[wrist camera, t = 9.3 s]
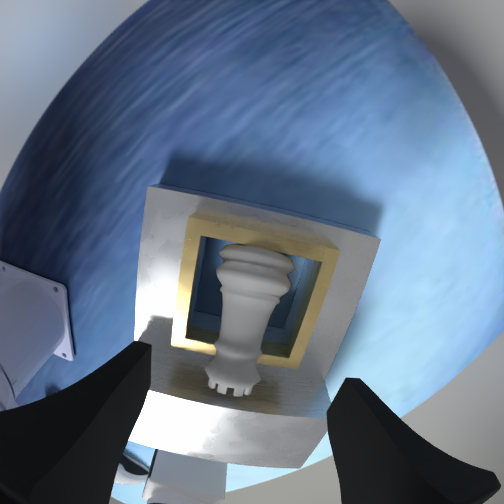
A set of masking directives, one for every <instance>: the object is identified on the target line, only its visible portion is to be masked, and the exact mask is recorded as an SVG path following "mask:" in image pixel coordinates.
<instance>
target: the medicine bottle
mask: <svg viewBox="0 0 504 504" xmlns="http://www.w3.org/2000/svg"><path fill="white" fill-rule="evenodd" d="M226 475H227V463H224V462H218V461H212V460H206V459H200V458H195V457H190V456H186V455H181V454H177V453H172V452H168V451H164V450H161V449H157V448H156V449H155V452H154V455H153V459H152V462H151V466H150V469H149V473H148V476H147V480H146V484H145V487H144V491H143V495H142V498H143V499H144V500H146V501H147V504H219V503H221V502H222V501H223V500H224V498H225V489H226Z"/></svg>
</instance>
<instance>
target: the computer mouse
mask: <svg viewBox="0 0 504 504" xmlns="http://www.w3.org/2000/svg"><path fill="white" fill-rule="evenodd" d="M47 397H48V396H47ZM148 473H149V468H147V467H146V466H145V465H143V464H142V463H140V462H138V461H137V460H135V459H133V458H131V457H129V456H127V455H125V454H122V457H121V459H120V462H119V466H118V469H117V473H116V476H115V480H114V482H116V483H120V484H126V485H132V484H139V483H143V482H146V480H147V476H148Z"/></svg>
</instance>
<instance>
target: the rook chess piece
mask: <svg viewBox="0 0 504 504" xmlns="http://www.w3.org/2000/svg"><path fill="white" fill-rule="evenodd" d="M219 255H220V256H221V257H222V259H223V260H224V263H222V264H221V265H220V266H219V267H217V277H218V279H219V280H220V282H221V284H222V287H221V288H220V291H221V292H222V297H223V309H222V322H221V330H220V335H219V339H218V340H217V341H216V342H214V346H215V348H216V356H215V358H214V359H213V360H212V361H210V362H209V363H208V364H207V365H206V366H205V371H206V373H207V374H208V376H209V382H208V386H209V387H210V388H215V387H216V383H217V384H218V389H217V392H219V393H222V394H226V392H227V387H229V388H234V392H233V395H234V396H241V397H242V396H243V392H244V394H245V395H249V394H251V391H252V386H254V385H255V384H256V383H257V382H259V381H260V380H261V379H260V376H259V374H258V372H257V369H256V362H257V359H258V358H259V357H260V356H261V355H263V354H262V351H261V349H260V348H261V343H262V339H263V335H264V332H265V330H266V327H267V324H268V322H269V319H270V316H271V314H272V312H273V310H274V308H275V306H276V304H278V303H280V299H279V298H280V297H281V296H283V295H284V294H285V293H287V292H288V291H289V289H290V287H291V285H292V284H291V282H290V280H289V278H288V277H287V274H289V273H291V272H293V271H294V270H296V269H295V266H294V264H293V262H292V260H291V258H290V257H288V256H286V255H284V254H281V253H278V252H275V251H272V250H268V249H263V248H259V247H254V246H247V245H238V244H230V245H226V246H225V247H224V248H223V249H222V250H221V251H220V252H219ZM244 389H245V391H244Z"/></svg>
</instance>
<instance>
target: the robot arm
mask: <svg viewBox="0 0 504 504" xmlns="http://www.w3.org/2000/svg"><path fill="white" fill-rule="evenodd" d="M56 287H57V289H58V290H57V289H56ZM52 354H55V355H58V356H60V357H62V358H65V359H67V360H69V361H73V359H74V358H75V356H74V350H73V344H72V337H71V330H70V321H69V312H68V301H67V290H66V287H65V286H64V285H63V284H60V283H58V282H55V281H52V280H49V279H46V278H44V277H41V276H38V275H36V274H33V273H30V272H28V271H25V270H23V269H20V268H18V267H15V266H13V265H10V264H8V263H5V262H3V261H0V504H109V500H110V496H111V492H112V488H113V484H114V480H115V476H116V473H117V469H118V466H119V462H120V459H121V457H122V454H123V451H124V449H125V447H126V445H127V442H128V440H129V438H130V436H131V434H132V431H133V429H134V427H135V425H136V423H137V420H138V418H139V416H140V414H141V412H142V409H143V407H144V404H145V401H146V398H147V395H148V392H149V388H150V385H151V355H152V344H148V343H144V342H141V341H137V340H135V341H134V342H132V343H131V344H130V345H128V346H127V347H126V348H125V349H123V350H122V351H121V352H120V353H118V354H117V355H116V356H114V357H113V358H112V359H110V360H109V361H108V362H106V363H105V364H103V365H102V366H101V367H99V368H98V369H97V370H95V371H94V372H92V373H90V374H89V375H87V376H86V377H84V378H83V379H81V380H79V381H78V382H76V383H74V384H73V385H71V386H69V387H67V388H65V389H63V390H61V391H59V392H57V393H55V394H53V395H51V396H48V397H46V398H43V399H41V400H38V401H35V402H33V403H30V404H27V405H24V406H20V407H18V405H17V404H16V402H15V398H16V397H17V396H18V395H19V393H20V392H21V391H22V390H23V388H24V387H25V386H26V385H27V383H28V382H29V381H30V380H31V379H32V377H33V376H34V375H35V374H36V373H37V371H38V370H39V369H40V368H41V367H42V365H43V364H44V363H45V362H46V361H47V360H48V358H49V357H50V356H51V355H52ZM326 415H327V427H328V435H329V440H330V444H331V448H332V452H333V456H334V461H335V465H336V469H337V473H338V477H339V483H340V490H341V502H342V504H483V503H484V502H485V501H487V500H488V499H489V498H490V497H492V496H493V495H494V494H495V493H496V492H497V491H498V490H499V489H500V487H501V484H500V482H499V481H498V479H497V477H496V475H495V474H494V473H493V472H491V471H488V470H484V469H481V468H478V467H475V466H472V465H470V464H467V463H465V462H462V461H460V460H458V459H456V458H454V457H452V456H450V455H448V454H447V453H445V452H443V451H441V450H440V449H438V448H436V447H435V446H433V445H432V444H430V443H429V442H427V441H426V440H425V439H423V438H422V437H421V436H420V435H418V434H417V433H416V432H414V431H413V430H412V429H411V428H410V427H409V426H408V425H407V424H405V423H404V422H403V421H402V420H401V419H400V418H399V417H398V416H397V415H396V414H395V413H394V412H393V411H392V410H391V409H390V408H389V407H388V406H387V405H386V404H385V403H384V402H383V401H382V400H381V399H380V398H379V397H378V396H377V395H376V394H375V393H374V392H373V391H372V390H371V389H370V388H369V387H368V386H367V385H366V384H365V383H364V382H363V381H362V380H361V379H360V378H345V380H344V382H343V384H342V385H341V387H340V389H339V391H338V393H337V394H336V396H335V398H334V400H333V401H332V403H331V405H330V407H329V408H328V410H327V412H326Z"/></svg>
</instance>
